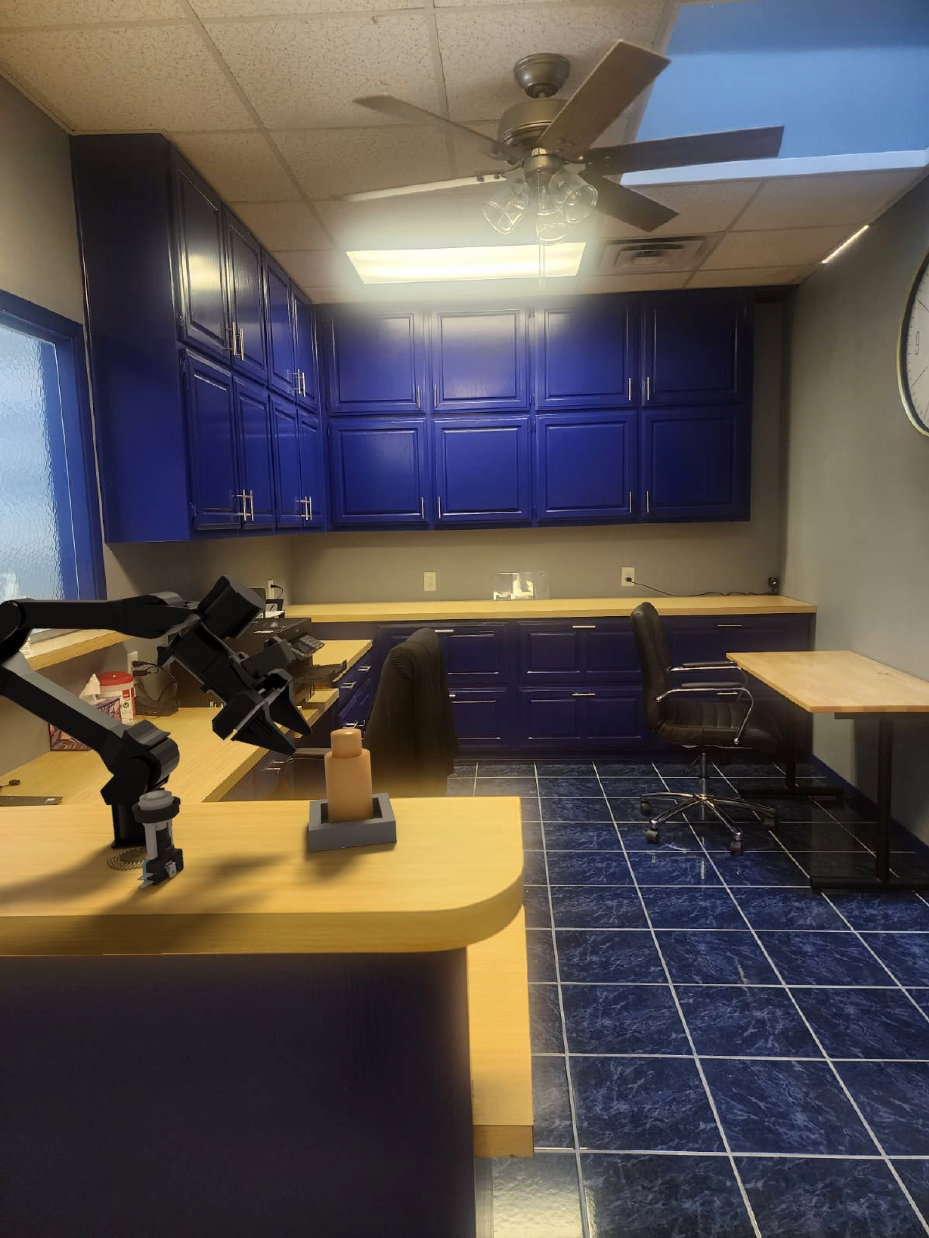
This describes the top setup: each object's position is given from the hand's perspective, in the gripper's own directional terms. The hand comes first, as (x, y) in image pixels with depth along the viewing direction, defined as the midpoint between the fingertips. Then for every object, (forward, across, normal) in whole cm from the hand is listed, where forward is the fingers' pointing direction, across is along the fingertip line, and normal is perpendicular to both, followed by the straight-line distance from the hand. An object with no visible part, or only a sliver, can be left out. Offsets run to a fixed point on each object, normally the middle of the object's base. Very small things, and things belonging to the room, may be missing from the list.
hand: (302, 743), depth 97 cm
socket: (+13, 0, +4) cm, 14 cm away
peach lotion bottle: (+12, 0, +4) cm, 13 cm away
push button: (-2, -13, +20) cm, 23 cm away
